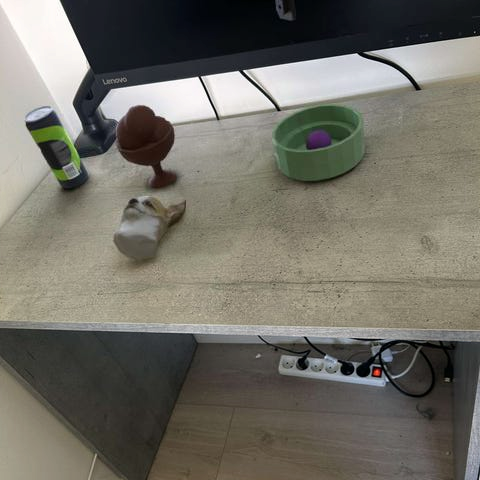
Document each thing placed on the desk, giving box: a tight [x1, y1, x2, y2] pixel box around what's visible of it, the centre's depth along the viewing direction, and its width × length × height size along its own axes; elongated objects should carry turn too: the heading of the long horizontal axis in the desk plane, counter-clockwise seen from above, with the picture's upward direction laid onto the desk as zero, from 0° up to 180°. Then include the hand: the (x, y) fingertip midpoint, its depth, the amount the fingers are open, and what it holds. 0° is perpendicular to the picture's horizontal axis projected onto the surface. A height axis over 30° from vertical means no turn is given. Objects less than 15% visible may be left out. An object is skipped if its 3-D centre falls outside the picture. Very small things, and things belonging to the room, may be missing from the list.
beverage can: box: [23, 105, 89, 189], centre depth 97 cm, size 6×6×15 cm
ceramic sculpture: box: [112, 195, 187, 262], centre depth 79 cm, size 11×9×15 cm
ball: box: [306, 130, 332, 150], centre depth 85 cm, size 4×4×4 cm
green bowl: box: [271, 103, 366, 182], centre depth 84 cm, size 15×15×6 cm
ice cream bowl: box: [114, 104, 177, 190], centre depth 89 cm, size 11×11×15 cm
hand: (315, 4), depth 68 cm, fingers open, 9 cm apart
